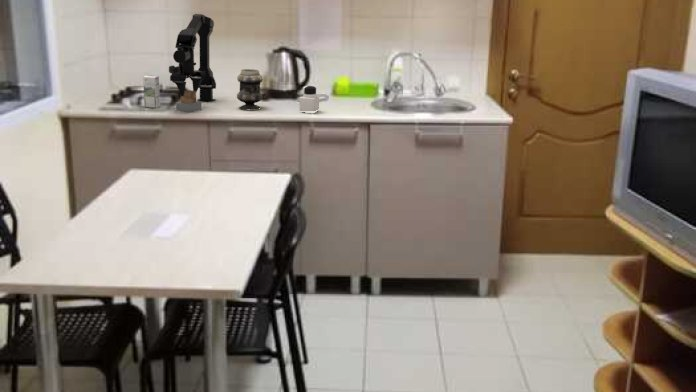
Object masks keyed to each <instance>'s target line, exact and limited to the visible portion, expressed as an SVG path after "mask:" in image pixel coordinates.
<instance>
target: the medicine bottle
mask: <svg viewBox="0 0 696 392" xmlns="http://www.w3.org/2000/svg"><path fill="white" fill-rule="evenodd" d="M302 95H303V96H300V97H299V110H300V111H316V110H318V109H319V110H320V96H317V88H316V86H312V85H306V86H303V88H302Z"/></svg>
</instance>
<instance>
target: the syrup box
mask: <svg viewBox="0 0 696 392" xmlns="http://www.w3.org/2000/svg"><path fill="white" fill-rule="evenodd" d="M142 78H143V79H142V80H143V82H142V83H143V98H144V100H143V102H144V103H143V104H144V108H147V109H157V108H159V107H160V106H161V100H160V99H161V97H160V96H161V95H160V76H159V75H152V74H145V75H144V76H142Z"/></svg>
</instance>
